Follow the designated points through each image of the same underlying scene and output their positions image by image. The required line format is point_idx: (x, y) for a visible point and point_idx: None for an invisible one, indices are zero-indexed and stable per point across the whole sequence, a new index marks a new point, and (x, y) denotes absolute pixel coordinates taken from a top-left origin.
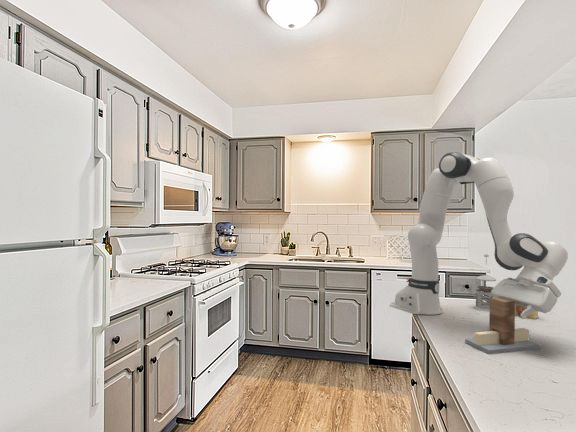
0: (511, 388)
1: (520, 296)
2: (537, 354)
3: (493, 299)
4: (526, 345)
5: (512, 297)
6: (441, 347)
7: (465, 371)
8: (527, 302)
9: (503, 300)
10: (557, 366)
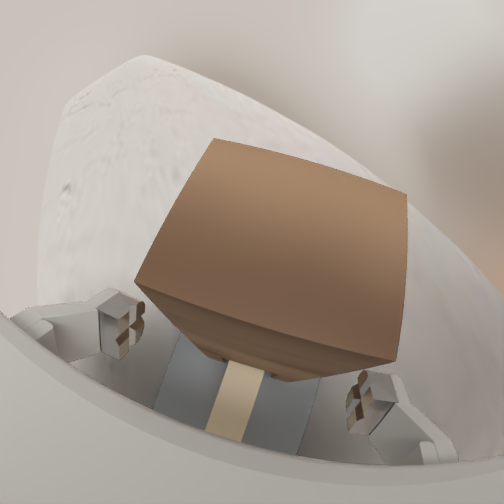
0: (129, 111)
1: (92, 451)
2: (124, 357)
3: (353, 181)
4: (168, 384)
5: (249, 460)
6: (339, 157)
7: (214, 101)
8: (19, 330)
9: (245, 184)
10: (62, 291)
